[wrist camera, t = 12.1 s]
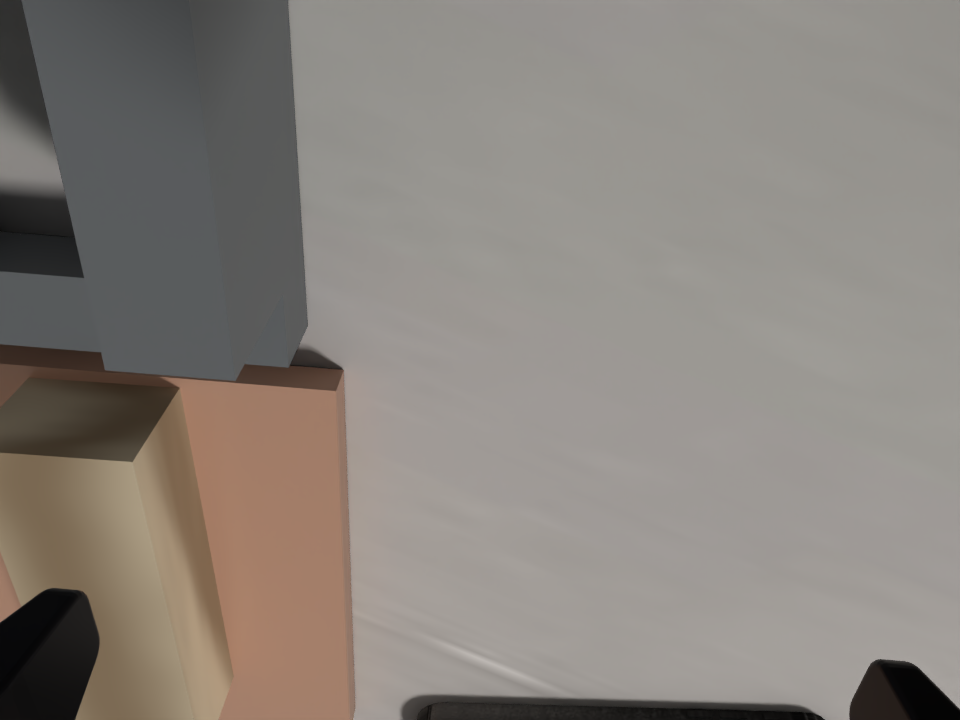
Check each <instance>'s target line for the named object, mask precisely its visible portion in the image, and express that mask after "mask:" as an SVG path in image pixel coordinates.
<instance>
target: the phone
mask: <svg viewBox="0 0 960 720" xmlns="http://www.w3.org/2000/svg"><path fill="white" fill-rule="evenodd" d="M417 720H824V719H823V718H822V717H820V716H818V715H815V714H812V713H804V712H775V711H739V710H703V709H666V708H630V707H593V706H557V705H520V704H484V703H447V702H446V703H435V704H432V705H429V706H427V707H425V708H424V709H422V710H421V711H420V713H419V714H418V717H417Z"/></svg>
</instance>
